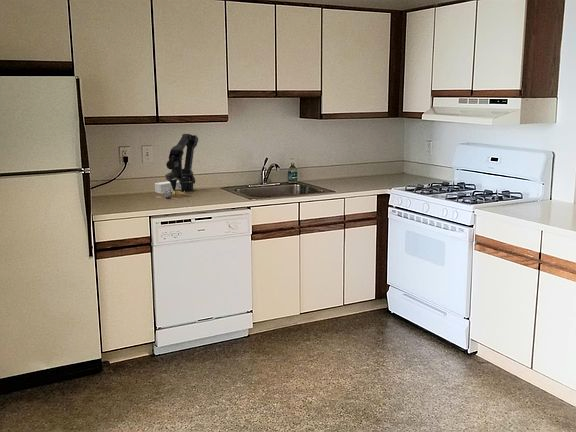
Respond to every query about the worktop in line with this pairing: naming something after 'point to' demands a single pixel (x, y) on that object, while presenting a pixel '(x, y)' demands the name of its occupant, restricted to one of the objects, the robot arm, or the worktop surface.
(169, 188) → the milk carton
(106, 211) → the worktop surface
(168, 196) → the steel post
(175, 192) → the brass ring
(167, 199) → the copper plate
